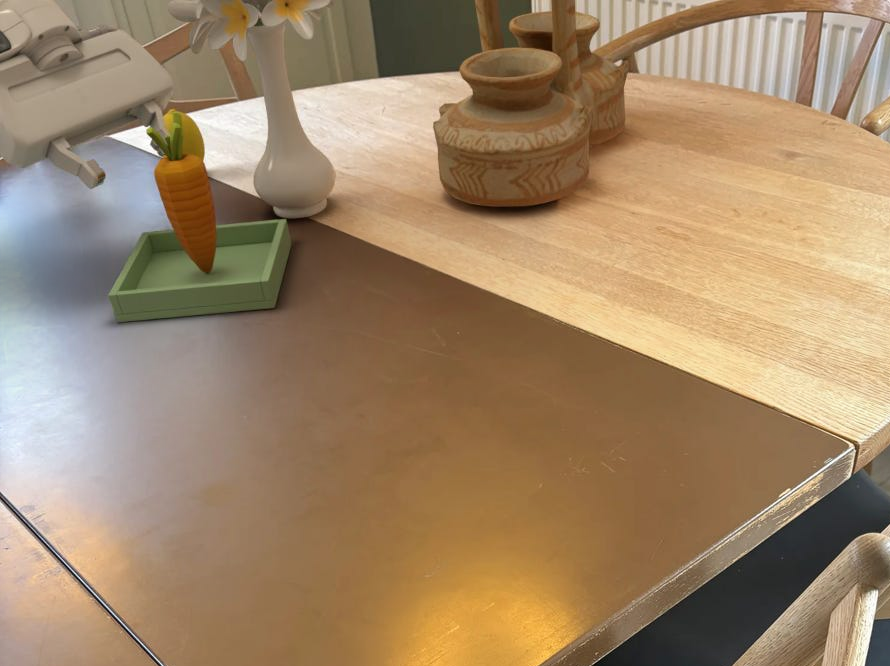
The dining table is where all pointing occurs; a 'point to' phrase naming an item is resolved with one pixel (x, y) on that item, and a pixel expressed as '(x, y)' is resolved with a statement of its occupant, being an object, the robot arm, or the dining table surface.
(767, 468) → the dining table surface
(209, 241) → the carrot
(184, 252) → the green tray
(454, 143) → the ceramic vessel
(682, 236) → the dining table surface
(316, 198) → the flower vase
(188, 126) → the lemon
